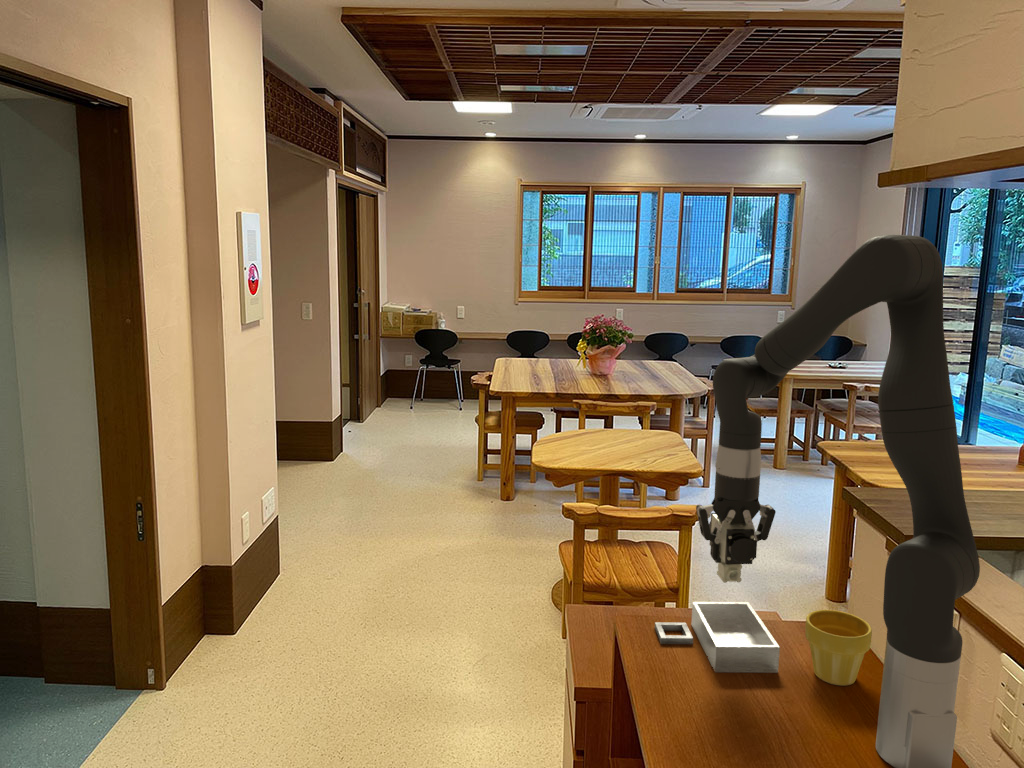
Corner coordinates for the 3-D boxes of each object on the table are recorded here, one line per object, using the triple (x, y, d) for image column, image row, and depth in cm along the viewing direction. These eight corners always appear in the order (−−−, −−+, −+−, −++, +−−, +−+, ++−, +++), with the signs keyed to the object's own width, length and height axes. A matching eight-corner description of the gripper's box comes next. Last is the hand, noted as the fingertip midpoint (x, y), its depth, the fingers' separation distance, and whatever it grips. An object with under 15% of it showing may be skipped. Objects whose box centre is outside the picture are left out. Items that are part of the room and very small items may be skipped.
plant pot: (801, 654, 133) (805, 604, 132) (863, 665, 130) (868, 614, 128) (802, 685, 124) (807, 631, 122) (870, 697, 120) (875, 642, 119)
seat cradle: (777, 672, 127) (779, 647, 127) (714, 672, 127) (716, 646, 127) (747, 625, 144) (748, 602, 143) (691, 624, 144) (692, 601, 143)
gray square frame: (692, 644, 137) (693, 638, 137) (660, 644, 137) (661, 638, 136) (685, 628, 143) (685, 622, 142) (654, 628, 143) (654, 622, 142)
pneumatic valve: (727, 593, 127) (731, 527, 125) (705, 565, 138) (708, 504, 136) (758, 592, 127) (762, 526, 125) (734, 565, 138) (738, 504, 136)
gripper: (703, 476, 125) (698, 570, 128) (786, 476, 126) (779, 569, 128) (691, 464, 133) (687, 553, 135) (770, 464, 133) (764, 553, 136)
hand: (732, 560), depth 132 cm, fingers closed on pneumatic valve, 5 cm apart
